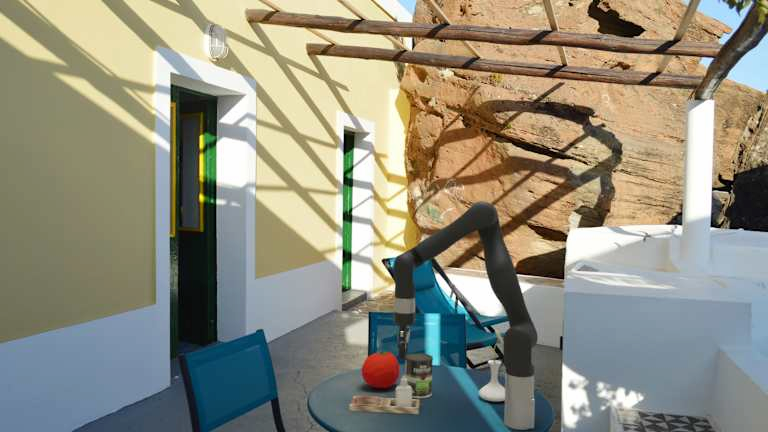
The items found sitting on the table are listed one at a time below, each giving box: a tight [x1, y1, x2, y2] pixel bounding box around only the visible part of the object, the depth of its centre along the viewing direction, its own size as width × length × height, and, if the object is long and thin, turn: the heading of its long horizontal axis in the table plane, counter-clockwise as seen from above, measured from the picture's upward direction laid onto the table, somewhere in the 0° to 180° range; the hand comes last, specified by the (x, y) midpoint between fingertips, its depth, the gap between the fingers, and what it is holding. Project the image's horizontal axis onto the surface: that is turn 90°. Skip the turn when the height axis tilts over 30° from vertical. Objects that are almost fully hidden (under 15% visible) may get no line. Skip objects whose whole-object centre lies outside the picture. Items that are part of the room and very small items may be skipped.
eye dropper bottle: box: [395, 374, 413, 407], centre depth 212 cm, size 4×6×12 cm
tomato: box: [361, 348, 401, 389], centre depth 234 cm, size 16×14×14 cm
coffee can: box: [404, 352, 434, 399], centre depth 228 cm, size 10×10×14 cm
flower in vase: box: [477, 329, 505, 402], centre depth 224 cm, size 13×11×25 cm
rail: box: [348, 395, 421, 415], centre depth 213 cm, size 24×8×2 cm, turn 84°
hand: (403, 355), depth 213 cm, fingers open, 8 cm apart
